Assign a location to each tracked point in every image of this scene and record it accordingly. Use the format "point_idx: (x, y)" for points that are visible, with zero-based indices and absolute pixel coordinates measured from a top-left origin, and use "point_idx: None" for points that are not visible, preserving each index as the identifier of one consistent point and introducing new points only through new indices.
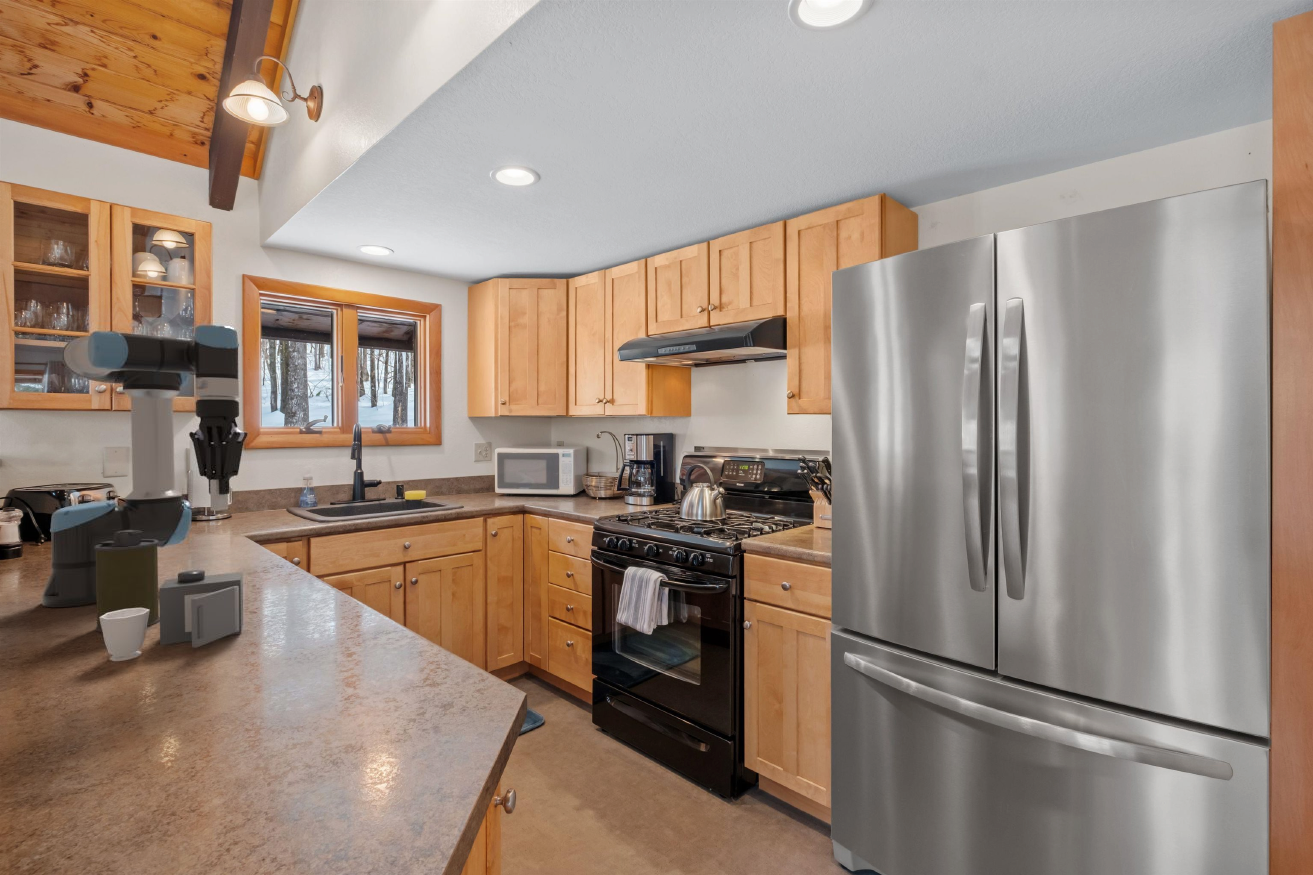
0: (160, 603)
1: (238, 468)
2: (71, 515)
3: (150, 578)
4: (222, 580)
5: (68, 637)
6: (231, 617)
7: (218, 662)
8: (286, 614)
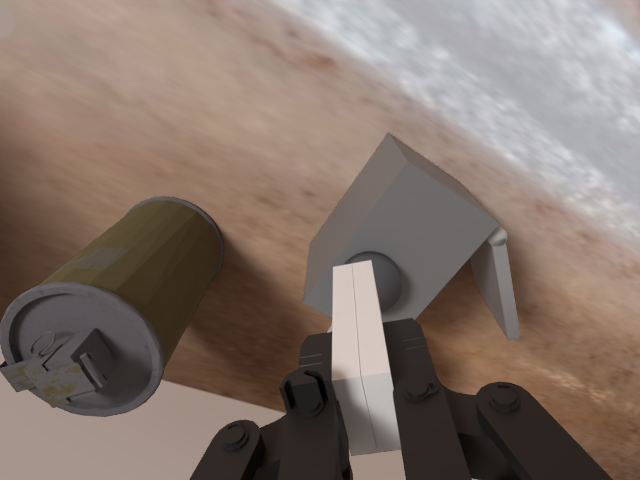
0: None
1: (565, 435)
2: None
3: (183, 274)
4: (457, 248)
5: None
6: None
7: (566, 288)
8: (424, 34)
